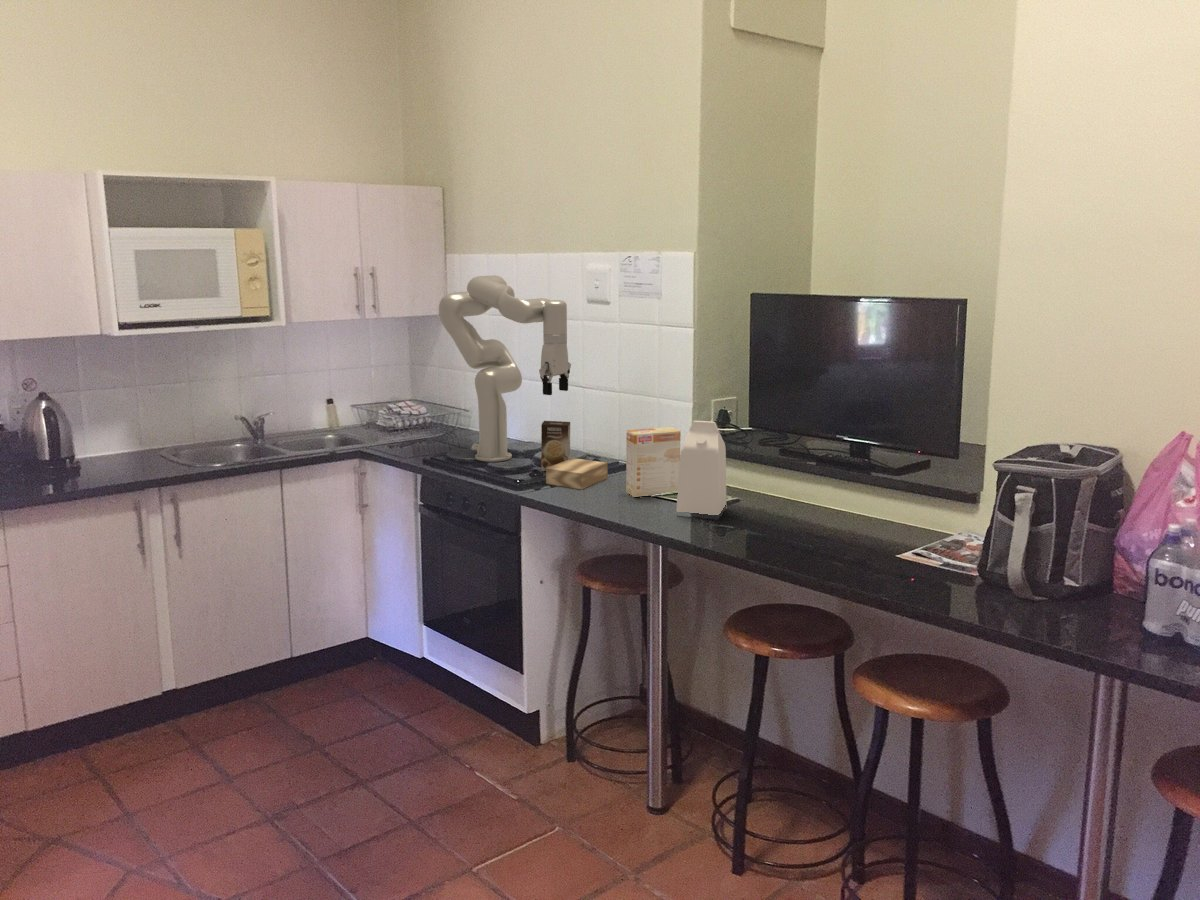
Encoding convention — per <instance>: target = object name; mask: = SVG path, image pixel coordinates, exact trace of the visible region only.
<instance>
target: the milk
mask: <svg viewBox="0 0 1200 900" xmlns="http://www.w3.org/2000/svg"><path fill="white" fill-rule="evenodd" d="M681 446H682V447H681V448H680V468H679V481H678V494H676V495H677V498H676V508H675V509H676V511H677V512H690V513H699V514H708V515H719V514H720V513H721V511H722V510H723V508H724V507H725V505H726V506H727V463H726V462H727V458H726V457H727V453H726V451H727V450H726V448H727V447H726V443H725V441H724V439H723V437H722V435H721V432H719V429H718V426H717V423H716V422H715V421H707V420H693V421H692V423H691V425H690V427H689V430H688V432H687V434H686V436H685V440H684V442H683V444H682V445H681ZM676 511H675V512H676Z"/></svg>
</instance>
